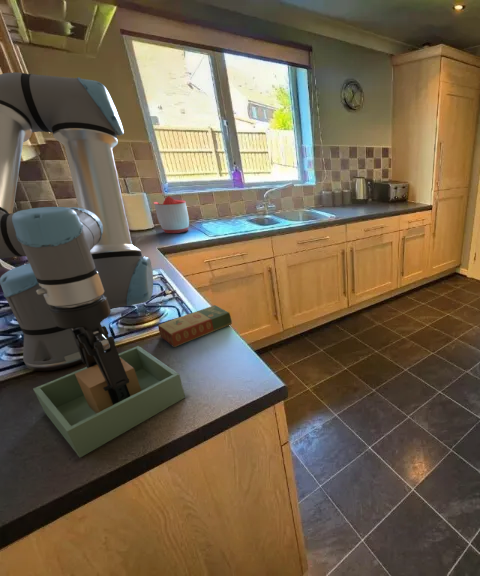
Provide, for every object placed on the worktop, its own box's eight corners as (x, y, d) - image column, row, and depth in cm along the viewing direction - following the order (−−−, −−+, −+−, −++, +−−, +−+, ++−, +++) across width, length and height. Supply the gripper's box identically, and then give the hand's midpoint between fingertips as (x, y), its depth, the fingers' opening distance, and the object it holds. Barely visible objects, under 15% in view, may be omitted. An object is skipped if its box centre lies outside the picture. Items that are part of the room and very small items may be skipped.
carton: (160, 337, 89) (156, 323, 87) (217, 315, 101) (215, 303, 99) (174, 348, 85) (170, 334, 83) (232, 324, 97) (230, 311, 95)
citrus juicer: (175, 227, 200) (168, 193, 192) (198, 230, 195) (191, 195, 187) (151, 232, 186) (142, 196, 178) (175, 236, 181) (166, 199, 173)
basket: (45, 413, 64) (32, 388, 61) (145, 367, 77) (138, 345, 75) (79, 458, 55) (67, 431, 53) (185, 397, 69) (179, 374, 66)
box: (88, 405, 65) (74, 373, 62) (128, 386, 70) (117, 355, 67) (103, 421, 62) (89, 388, 58) (144, 399, 67) (133, 368, 64)
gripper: (29, 292, 59) (74, 392, 68) (71, 325, 49) (116, 437, 58) (82, 279, 64) (117, 373, 74) (128, 307, 55) (161, 411, 64)
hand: (116, 401), depth 66 cm, fingers closed on box, 7 cm apart
